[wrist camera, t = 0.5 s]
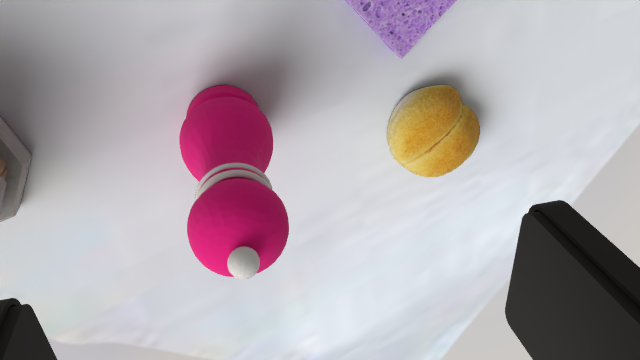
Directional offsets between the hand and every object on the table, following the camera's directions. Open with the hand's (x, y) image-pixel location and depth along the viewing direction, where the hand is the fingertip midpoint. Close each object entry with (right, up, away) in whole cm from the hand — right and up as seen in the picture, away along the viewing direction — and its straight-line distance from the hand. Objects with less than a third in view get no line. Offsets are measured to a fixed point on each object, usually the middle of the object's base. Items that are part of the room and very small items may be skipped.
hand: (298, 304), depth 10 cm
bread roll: (+11, +8, +39) cm, 42 cm away
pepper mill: (-8, +8, +34) cm, 36 cm away
